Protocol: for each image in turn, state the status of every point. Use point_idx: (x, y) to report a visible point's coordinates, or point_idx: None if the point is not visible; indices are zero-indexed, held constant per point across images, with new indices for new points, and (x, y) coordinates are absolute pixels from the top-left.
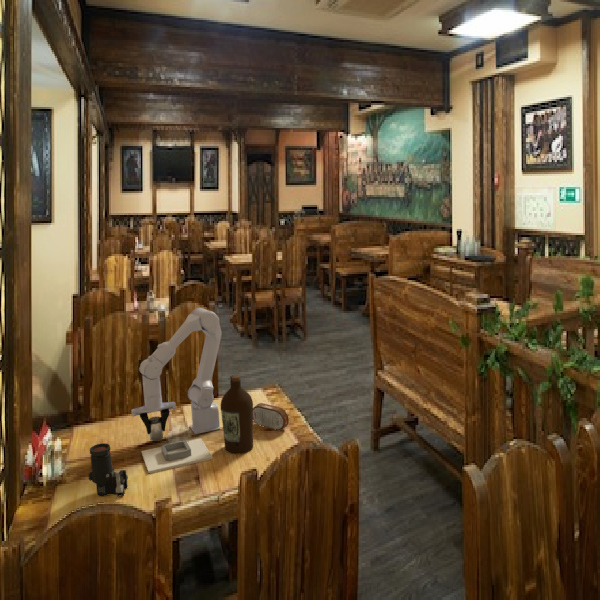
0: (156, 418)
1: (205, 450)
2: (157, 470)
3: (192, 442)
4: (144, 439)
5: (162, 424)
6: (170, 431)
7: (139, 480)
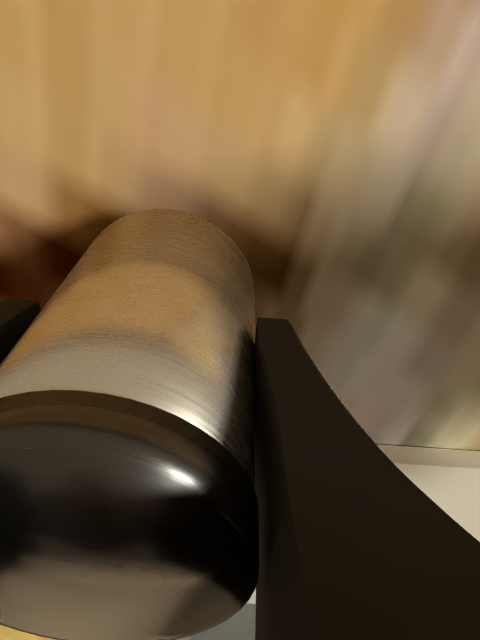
0: (125, 554)
1: None
2: None
3: (458, 500)
4: (18, 105)
5: (256, 462)
6: (453, 22)
7: (22, 634)
